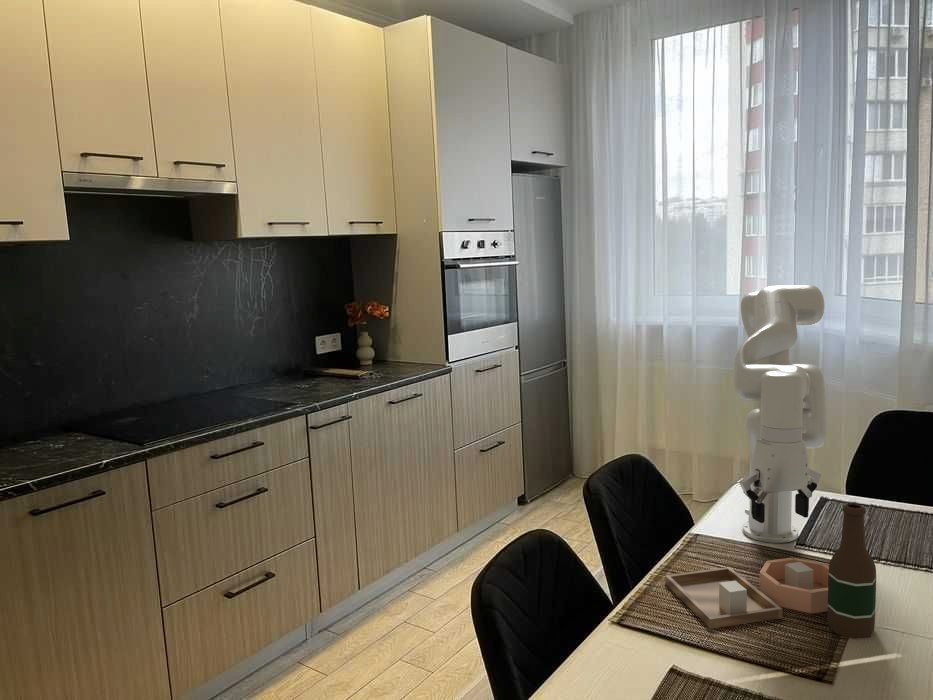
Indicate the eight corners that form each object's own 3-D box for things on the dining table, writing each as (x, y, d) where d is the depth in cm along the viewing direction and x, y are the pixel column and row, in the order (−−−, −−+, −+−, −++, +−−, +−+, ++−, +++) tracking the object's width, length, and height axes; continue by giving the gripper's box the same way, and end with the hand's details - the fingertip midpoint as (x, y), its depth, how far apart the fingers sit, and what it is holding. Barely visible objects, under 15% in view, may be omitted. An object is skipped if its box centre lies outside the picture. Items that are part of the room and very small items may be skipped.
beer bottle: (870, 623, 134) (874, 499, 131) (879, 645, 127) (883, 515, 124) (824, 617, 137) (826, 496, 134) (830, 639, 130) (833, 511, 126)
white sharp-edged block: (719, 606, 142) (719, 582, 141) (735, 604, 142) (735, 580, 142) (729, 616, 138) (729, 592, 137) (746, 614, 138) (746, 589, 138)
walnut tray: (665, 586, 152) (665, 575, 152) (729, 577, 155) (729, 566, 155) (710, 631, 134) (710, 619, 134) (782, 620, 137) (782, 608, 136)
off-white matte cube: (784, 587, 148) (785, 564, 147) (799, 584, 149) (799, 561, 148) (797, 596, 144) (798, 572, 143) (812, 593, 145) (813, 569, 144)
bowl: (747, 584, 151) (747, 563, 151) (810, 576, 154) (810, 555, 153) (790, 619, 137) (790, 595, 136) (858, 609, 139) (859, 585, 139)
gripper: (807, 426, 146) (806, 507, 148) (730, 433, 143) (730, 516, 145) (833, 434, 139) (831, 519, 141) (752, 442, 136) (752, 529, 138)
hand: (780, 518), depth 143 cm, fingers open, 9 cm apart
